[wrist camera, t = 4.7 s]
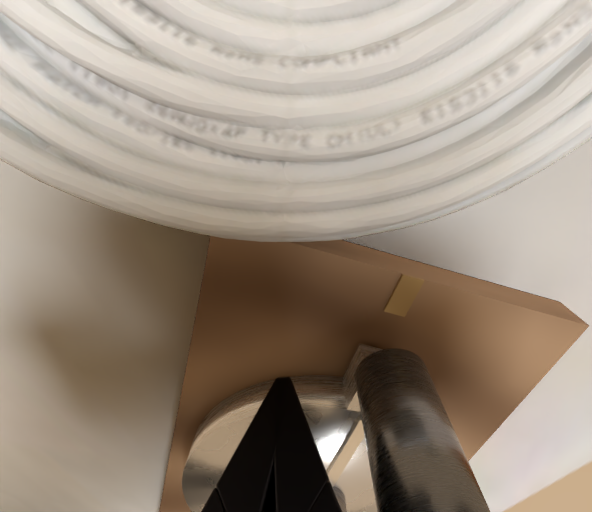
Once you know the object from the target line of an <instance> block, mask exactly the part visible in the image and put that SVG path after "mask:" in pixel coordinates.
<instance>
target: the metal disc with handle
mask: <svg viewBox="0 0 592 512" xmlns="http://www.w3.org/2000/svg"><path fill="white" fill-rule="evenodd" d="M290 378H291V379H292V382H293V385H294V387H295V390H296V393H297V395H298V398H299V400H300V403H301V406H302V408H303V411H304V414H305V416H306V419H307V422H308V424H309V427H310V430H311V432H312V435H313V437H314V440H315V443H316V445H317V448H318V451H319V453H320V456H321V459H322V461H323V464H324V467H325V469H326V472H327V475H328V477H329V481H330V482H331V485H332V487H333V490H334V493H335V495H336V498H337V500H338V503H339V505H340V508H341V510H342V512H490V510H489V508H488V506H487V503H486V501H485V499H484V496H483V494H482V492H481V490H480V487H479V485H478V483H477V481H476V478H475V476H474V474H473V472H472V469H471V467H470V465H469V462H468V460H467V458H466V456H465V453H464V451H463V449H462V447H461V444H460V442H459V440H458V438H457V435H456V433H455V431H454V428H453V426H452V424H451V422H450V419H449V417H448V415H447V413H446V410H445V408H444V406H443V403H442V401H441V399H440V397H439V394H438V392H437V390H436V388H435V385H434V383H433V381H432V379H431V376H430V374H429V372H428V369H427V367H426V365H425V363H424V361H423V360H422V359H421V358H420V357H419V356H418V355H417V354H415V353H413V352H411V351H408V350H405V349H398V348H390V349H379V348H375V347H371V346H367V345H363V344H359V346H358V348H357V350H356V352H355V354H354V356H353V358H352V359H351V361H350V363H349V365H348V367H347V369H346V371H345V373H344V375H343V377H336V376H325V375H304V376H294V377H290ZM274 381H275V379H274V380H269V381H266V382H262V383H259V384H256V385H253V386H250V387H248V388H245V389H243V390H241V391H239V392H236V393H234V394H233V395H231V396H229V397H228V398H226V399H224V400H223V401H222V402H220V403H219V404H218V405H217V406H215V407H214V408H213V409H212V410H211V411H210V412H209V413H208V414H207V415H206V417H205V418H204V419H203V421H202V422H201V424H200V425H199V427H198V429H197V432H196V434H195V437H194V440H193V443H192V446H191V449H190V452H189V455H188V458H187V461H186V464H185V467H184V470H183V476H182V490H183V494H184V497H185V500H186V503H187V505H188V506H189V508H190V510H191V511H192V512H201V510H202V509H203V507H204V505H205V504H206V502H207V500H208V498H209V496H210V495H211V493H212V491H213V489H214V488H216V484H217V482H218V481H219V479H220V477H221V475H222V473H223V472H224V470H225V468H226V466H227V464H228V463H229V461H230V459H231V457H232V456H233V454H234V452H235V450H236V448H237V447H238V445H239V443H240V441H241V439H242V438H243V436H244V434H245V432H246V431H247V429H248V427H249V425H250V423H251V422H252V420H253V418H254V416H255V414H256V413H257V411H258V409H259V407H260V406H261V404H262V402H263V400H264V398H265V397H266V395H267V393H268V391H269V389H270V388H271V386H272V384H273V382H274ZM216 489H217V488H216Z"/></svg>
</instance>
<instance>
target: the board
mask: <svg viewBox="0 0 592 512" xmlns="http://www.w3.org/2000/svg"><path fill="white" fill-rule="evenodd" d="M588 326H589V325H588V324H586V323H585V322H584V321H583V320H582V319H580V318H579V317H578V316H577V315H575V314H574V313H573V312H572V311H570V310H569V309H568V308H567V307H566V306H564V305H563V304H562V303H561V302H558V301H554V300H551V299H547V298H544V297H540V296H537V295H533V294H530V293H526V292H523V291H519V290H516V289H512V288H509V287H505V286H502V285H498V284H495V283H491V282H488V281H484V280H480V279H477V278H473V277H470V276H466V275H463V274H459V273H456V272H452V271H449V270H445V269H442V268H438V267H435V266H431V265H428V264H424V263H421V262H417V261H414V260H410V259H407V258H403V257H400V256H396V255H393V254H389V253H386V252H382V251H379V250H375V249H372V248H368V247H365V246H361V245H357V244H354V243H350V242H347V241H343V240H332V241H315V242H258V241H247V240H236V239H225V238H220V237H214V236H210V241H209V247H208V252H207V257H206V263H205V268H204V274H203V279H202V284H201V290H200V295H199V300H198V306H197V311H196V317H195V322H194V327H193V333H192V338H191V343H190V349H189V354H188V359H187V365H186V370H185V376H184V381H183V386H182V392H181V397H180V402H179V408H178V413H177V418H176V424H175V429H174V435H173V440H172V445H171V451H170V456H169V461H168V467H167V472H166V478H165V483H164V488H163V494H162V499H161V504H160V510H159V512H192V511H191V510H190V508H189V506H188V505H187V503H186V500H185V497H184V494H183V490H182V476H183V470H184V467H185V464H186V461H187V458H188V455H189V452H190V449H191V446H192V443H193V440H194V437H195V434H196V432H197V429H198V427H199V425H200V424H201V422H202V421H203V419H204V418H205V417H206V415H207V414H208V413H209V412H210V411H211V410H212V409H213V408H214V407H215V406H217V405H218V404H219V403H220V402H222V401H223V400H224V399H226V398H228V397H229V396H231V395H233V394H234V393H236V392H239V391H241V390H243V389H245V388H248V387H250V386H253V385H256V384H259V383H262V382H266V381H269V380H274V379H276V378H278V377H294V376H304V375H325V376H336V377H343V375H344V373H345V371H346V369H347V367H348V365H349V363H350V361H351V359H352V358H353V356H354V354H355V352H356V350H357V348H358V346H359V344H363V345H367V346H371V347H375V348H379V349H390V348H398V349H405V350H408V351H411V352H413V353H415V354H417V355H418V356H419V357H420V358H421V359H422V360H423V361H424V363H425V365H426V367H427V369H428V372H429V374H430V376H431V379H432V381H433V383H434V385H435V388H436V390H437V392H438V394H439V397H440V399H441V401H442V403H443V406H444V408H445V410H446V413H447V415H448V417H449V419H450V422H451V424H452V426H453V428H454V431H455V433H456V435H457V438H458V440H459V442H460V444H461V447H462V449H463V451H464V453H465V456H466V458H467V460H468V461H469V460H470V459H471V458H472V457H473V455H474V454H475V453H476V452H477V451H478V450H479V449H480V448H481V446H482V445H483V444H484V443H485V442H486V441H487V440H488V439H489V438H490V436H491V435H492V434H493V433H494V432H495V431H496V430H497V429H498V427H499V426H500V425H501V424H502V423H503V422H504V421H505V420H506V418H507V417H508V416H509V415H510V414H511V413H512V412H513V411H514V409H515V408H516V407H517V406H518V405H519V404H520V403H521V402H522V401H523V399H524V398H525V397H526V396H527V395H528V394H529V393H530V392H531V390H532V389H533V388H534V387H535V386H536V385H537V384H538V383H539V381H540V380H541V379H542V378H543V377H544V376H545V375H546V374H547V372H548V371H549V370H550V369H551V368H552V367H553V366H554V365H555V364H556V362H557V361H558V360H559V359H560V358H561V357H562V356H563V355H564V353H565V352H566V351H567V350H568V349H569V348H570V347H571V346H572V344H573V343H574V342H575V341H576V340H577V339H578V338H579V337H580V335H581V334H582V333H583V332H584V331H585V330H586V329H587V328H588Z"/></svg>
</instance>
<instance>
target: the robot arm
mask: <svg viewBox="0 0 592 512" xmlns="http://www.w3.org/2000/svg"><path fill="white" fill-rule="evenodd" d="M216 488H217V489H216ZM216 488H214V489H213V491H212V493H211V495H210V496H209V498H208V500H207V502H206V504H205V505H204V507H203V509H202V510H201V512H342V510H341V508H340V505H339V503H338V500H337V498H336V495H335V493H334V490H333V487H332V485H331V482H330V481H329V477H328V475H327V472H326V469H325V467H324V464H323V461H322V459H321V456H320V453H319V451H318V448H317V445H316V443H315V440H314V437H313V435H312V432H311V430H310V427H309V424H308V422H307V419H306V416H305V414H304V411H303V408H302V406H301V403H300V400H299V398H298V395H297V393H296V390H295V387H294V385H293V382H292V379H291V378H290V377H278V378H276V379H275V381H274V382H273V384H272V386H271V388H270V389H269V391H268V393H267V395H266V397H265V398H264V400H263V402H262V404H261V406H260V407H259V409H258V411H257V413H256V414H255V416H254V418H253V420H252V422H251V423H250V425H249V427H248V429H247V431H246V432H245V434H244V436H243V438H242V439H241V441H240V443H239V445H238V447H237V448H236V450H235V452H234V454H233V456H232V457H231V459H230V461H229V463H228V464H227V466H226V468H225V470H224V472H223V473H222V475H221V477H220V479H219V481H218V482H217V484H216Z"/></svg>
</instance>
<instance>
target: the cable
mask: <svg viewBox="0 0 592 512" xmlns="http://www.w3.org/2000/svg"><path fill="white" fill-rule="evenodd" d="M590 139H592V0H0V160H2V161H4V162H6V163H7V164H9V165H11V166H13V167H15V168H17V169H18V170H20V171H22V172H24V173H26V174H27V175H29V176H31V177H33V178H35V179H37V180H38V181H41V182H43V183H45V184H48V185H50V186H52V187H55V188H57V189H59V190H61V191H64V192H66V193H68V194H71V195H73V196H75V197H78V198H80V199H83V200H86V201H88V202H91V203H94V204H96V205H99V206H102V207H104V208H108V209H111V210H114V211H117V212H120V213H123V214H127V215H130V216H133V217H136V218H139V219H143V220H146V221H149V222H153V223H156V224H159V225H163V226H167V227H171V228H176V229H180V230H185V231H189V232H193V233H198V234H203V235H209V236H214V237H220V238H225V239H236V240H247V241H258V242H315V241H332V240H341V239H350V238H355V237H360V236H366V235H371V234H376V233H381V232H387V231H392V230H397V229H402V228H406V227H410V226H413V225H417V224H421V223H424V222H428V221H432V220H434V219H437V218H440V217H443V216H445V215H448V214H451V213H453V212H456V211H459V210H462V209H464V208H467V207H469V206H471V205H474V204H476V203H478V202H481V201H483V200H486V199H488V198H490V197H493V196H495V195H497V194H499V193H501V192H503V191H505V190H507V189H509V188H511V187H513V186H515V185H517V184H518V183H520V182H522V181H524V180H526V179H528V178H529V177H531V176H533V175H535V174H537V173H538V172H540V171H542V170H544V169H546V168H547V167H549V166H550V165H552V164H553V163H555V162H557V161H558V160H560V159H561V158H563V157H564V156H566V155H568V154H569V153H571V152H572V151H574V150H575V149H577V148H578V147H580V146H581V145H583V144H584V143H586V142H587V141H589V140H590Z"/></svg>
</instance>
